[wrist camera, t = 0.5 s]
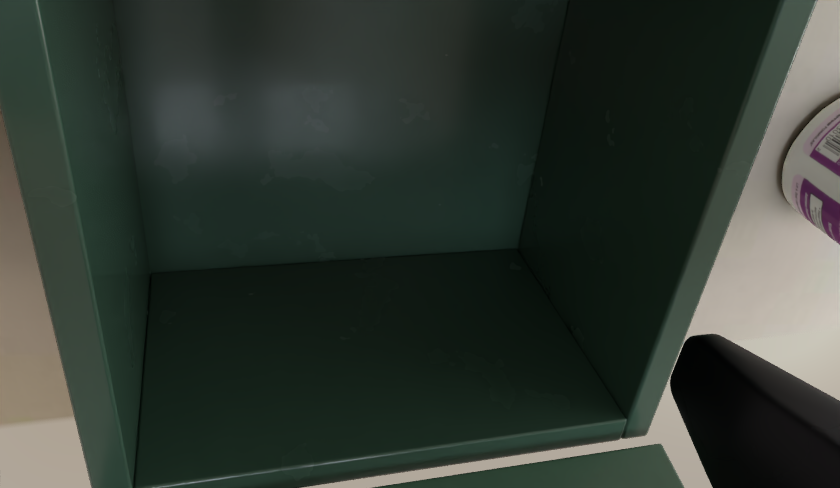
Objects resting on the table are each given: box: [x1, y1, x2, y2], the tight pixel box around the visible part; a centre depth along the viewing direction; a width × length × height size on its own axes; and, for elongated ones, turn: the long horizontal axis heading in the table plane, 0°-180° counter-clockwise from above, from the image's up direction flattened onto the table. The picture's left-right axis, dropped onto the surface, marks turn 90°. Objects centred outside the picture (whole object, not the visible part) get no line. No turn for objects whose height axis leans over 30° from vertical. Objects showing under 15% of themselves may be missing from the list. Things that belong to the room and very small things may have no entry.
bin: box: [0, 0, 817, 488], centre depth 17 cm, size 14×14×9 cm
